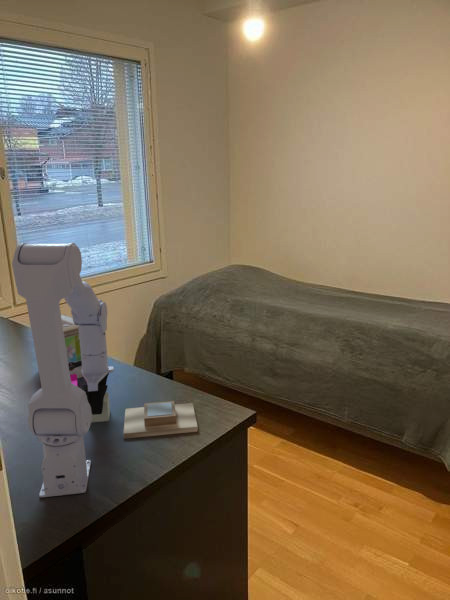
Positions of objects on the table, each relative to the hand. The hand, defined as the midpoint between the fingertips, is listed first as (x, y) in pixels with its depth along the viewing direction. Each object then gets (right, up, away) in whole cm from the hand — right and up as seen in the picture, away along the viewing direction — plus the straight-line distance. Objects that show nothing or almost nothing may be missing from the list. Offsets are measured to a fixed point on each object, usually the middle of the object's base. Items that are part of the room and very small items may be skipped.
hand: (98, 405), depth 109 cm
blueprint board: (+15, -3, -2) cm, 15 cm away
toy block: (-12, 0, +13) cm, 18 cm away
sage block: (0, -3, +1) cm, 3 cm away
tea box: (-16, +4, +26) cm, 31 cm away
